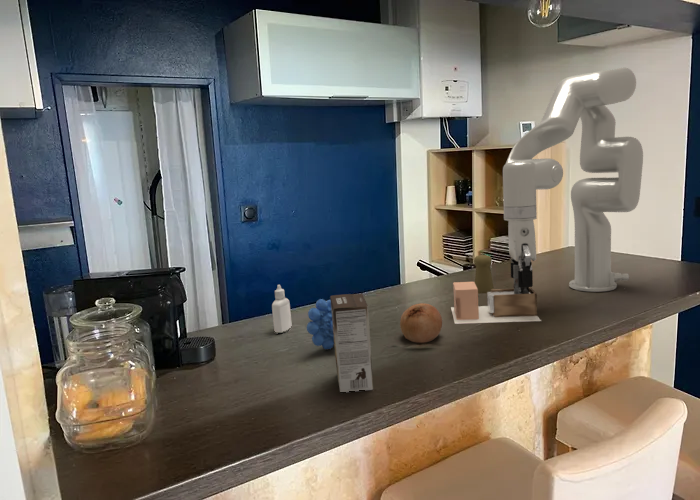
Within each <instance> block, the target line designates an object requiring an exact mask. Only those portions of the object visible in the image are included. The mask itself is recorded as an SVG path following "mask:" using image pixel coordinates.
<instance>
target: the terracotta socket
mask: <svg viewBox="0 0 700 500" xmlns="http://www.w3.org/2000/svg"><path fill="white" fill-rule="evenodd" d="M452 287H453V288H452V289H453V307H454V311H455V315H456V319H457V320H465V319H479V309H478V306H479V294H478V289H477V287H476V284H475V281H460V282H459V281H457V282H455V281H454V282H453V283H452Z"/></svg>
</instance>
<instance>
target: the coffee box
mask: <svg viewBox="0 0 700 500" xmlns="http://www.w3.org/2000/svg"><path fill="white" fill-rule="evenodd" d="M329 298H330V299H331V311H332V323H333V335H334V345H333V347H334V356H335V357H334V358H335V366H336V375H337V382H338V386H339V387H338V388H339V393H340V392H346V393H350V392H349V391H355V392H360V391H359V390H365V391H373V390H374V379H373V365H372V364H373V363H372V347H371V336H370V335H371V334H370V333H371V332H370V317H369V306H368V305H369V304H368V303H367V301H366V299H365V297H364V294H363V293H353V294H351V293H348V294H347V293H346V294H345V293H344V294H343V293H342V294H334V295H330V297H329ZM330 299H329V300H330Z"/></svg>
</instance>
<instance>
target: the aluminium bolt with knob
mask: <svg viewBox="0 0 700 500" xmlns="http://www.w3.org/2000/svg"><path fill="white" fill-rule="evenodd" d="M513 271H514V278H513V289H514V291H500V292H487V293H486V294H487V306H488V309H489V311H490V313H495V310H494V295H507V294H531V293H530V292H529V288H530V287H519V286H518V271H520V270H519V264H514V265H513Z"/></svg>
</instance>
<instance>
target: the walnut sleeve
mask: <svg viewBox="0 0 700 500" xmlns="http://www.w3.org/2000/svg"><path fill="white" fill-rule="evenodd" d="M500 291H514V288H494V289H491V292H500ZM529 292H530V293H531V294H507V295H494V310H495V313H493V314H494V316H495V317H516V316H538V293H537V292H536V291H535V290H534V289H533V288H532V287H529Z"/></svg>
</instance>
